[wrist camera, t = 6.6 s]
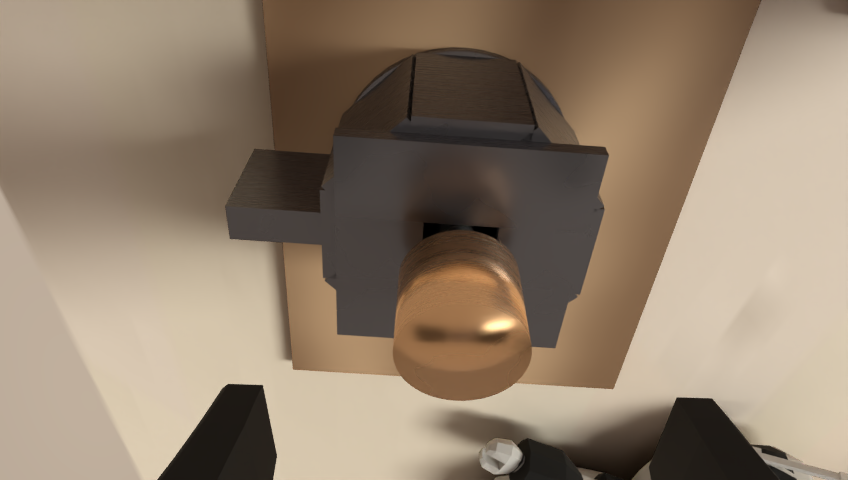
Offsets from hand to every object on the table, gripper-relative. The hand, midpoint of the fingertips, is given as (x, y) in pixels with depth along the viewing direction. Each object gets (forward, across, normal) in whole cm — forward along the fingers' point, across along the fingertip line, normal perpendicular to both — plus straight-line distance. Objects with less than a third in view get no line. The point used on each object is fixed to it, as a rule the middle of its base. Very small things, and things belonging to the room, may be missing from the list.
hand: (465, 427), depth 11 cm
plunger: (+9, 0, 0) cm, 9 cm away
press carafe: (+10, +1, 0) cm, 10 cm away
